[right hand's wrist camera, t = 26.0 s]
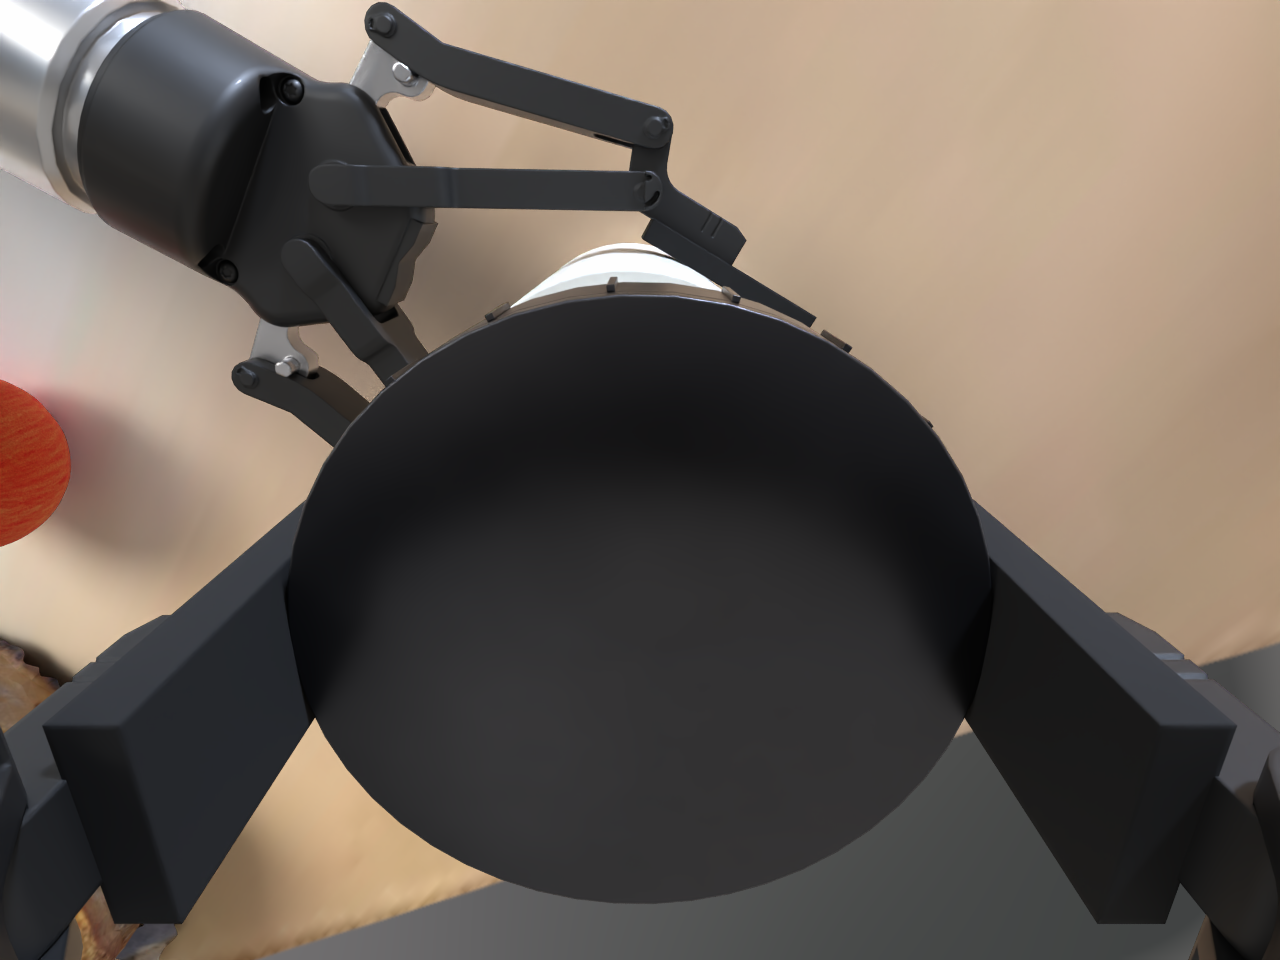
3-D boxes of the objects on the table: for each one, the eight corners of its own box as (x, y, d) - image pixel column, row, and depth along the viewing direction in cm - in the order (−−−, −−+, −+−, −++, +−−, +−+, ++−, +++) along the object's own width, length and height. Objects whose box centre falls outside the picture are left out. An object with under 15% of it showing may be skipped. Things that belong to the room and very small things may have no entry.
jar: (525, 236, 31) (415, 261, 15) (741, 249, 31) (854, 286, 15) (525, 444, 34) (435, 641, 19) (721, 454, 35) (796, 655, 19)
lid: (352, 805, 14) (312, 886, 12) (311, 248, 10) (247, 255, 8) (875, 839, 14) (908, 923, 12) (1018, 311, 10) (1090, 330, 9)
